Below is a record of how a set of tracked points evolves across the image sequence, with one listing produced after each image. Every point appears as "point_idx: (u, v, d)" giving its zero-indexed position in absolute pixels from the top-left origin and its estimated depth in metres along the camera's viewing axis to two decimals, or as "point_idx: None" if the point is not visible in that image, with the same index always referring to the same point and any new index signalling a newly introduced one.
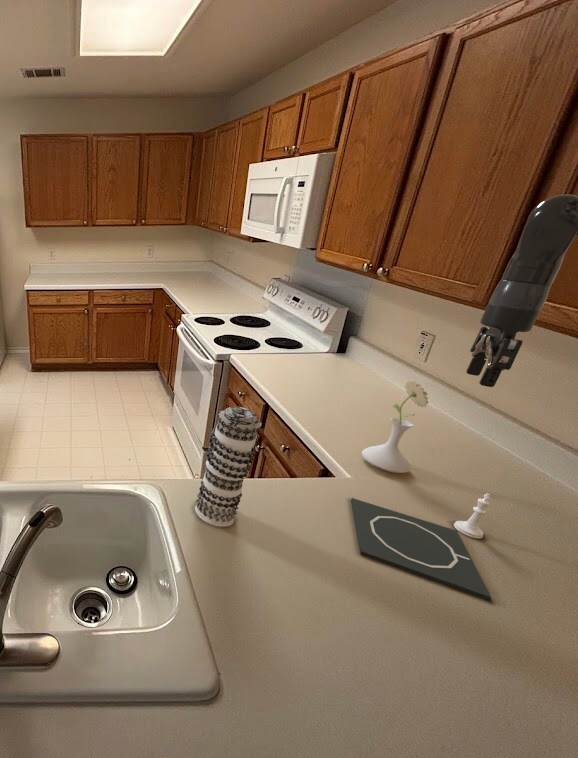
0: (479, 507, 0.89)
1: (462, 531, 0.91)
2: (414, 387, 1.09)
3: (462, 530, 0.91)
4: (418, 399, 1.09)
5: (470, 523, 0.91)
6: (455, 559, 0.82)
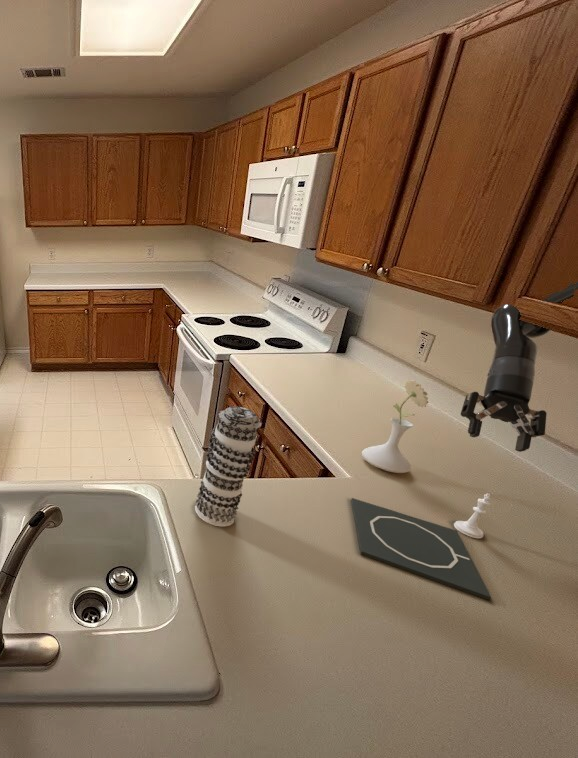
0: (479, 507, 0.89)
1: (462, 531, 0.91)
2: (414, 387, 1.09)
3: (462, 530, 0.91)
4: (418, 399, 1.09)
5: (470, 523, 0.91)
6: (455, 559, 0.82)
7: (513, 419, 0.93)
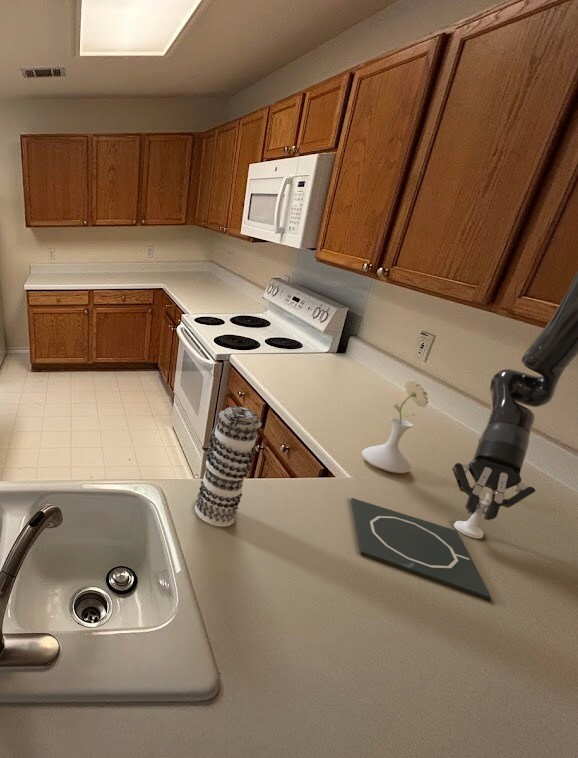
0: (479, 507, 0.89)
1: (462, 531, 0.91)
2: (414, 387, 1.09)
3: (462, 530, 0.91)
4: (418, 399, 1.09)
5: (470, 523, 0.91)
6: (455, 559, 0.82)
7: None
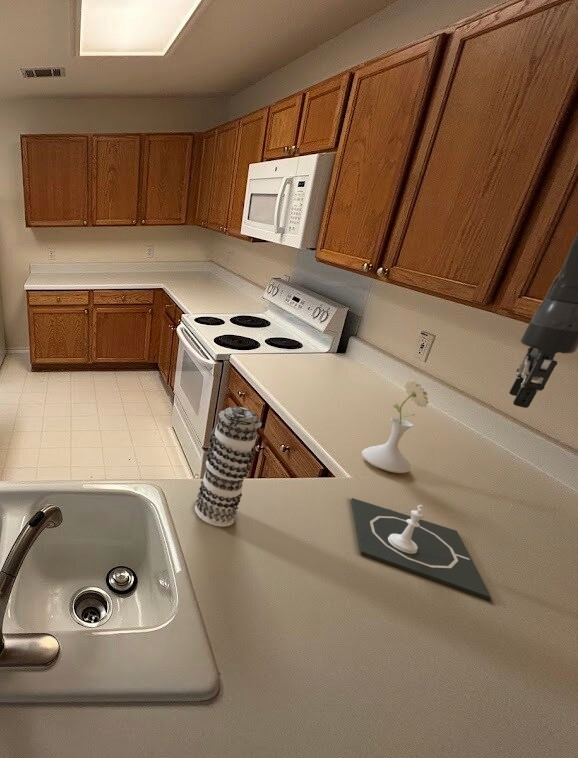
0: (412, 520, 0.82)
1: (395, 545, 0.84)
2: (414, 387, 1.09)
3: (395, 544, 0.84)
4: (418, 399, 1.09)
5: (404, 537, 0.83)
6: (455, 559, 0.82)
7: None
